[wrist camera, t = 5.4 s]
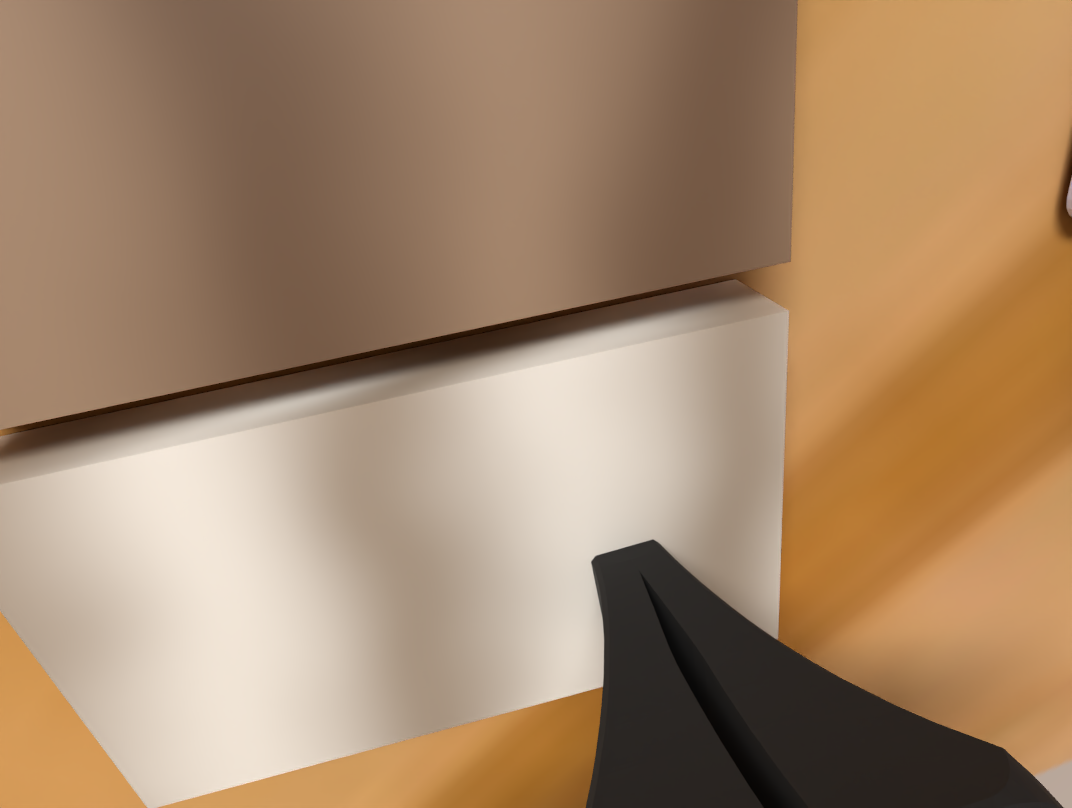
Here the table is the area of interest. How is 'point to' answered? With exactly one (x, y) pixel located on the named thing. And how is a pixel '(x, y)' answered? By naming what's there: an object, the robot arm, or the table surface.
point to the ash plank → (389, 533)
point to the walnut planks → (364, 175)
